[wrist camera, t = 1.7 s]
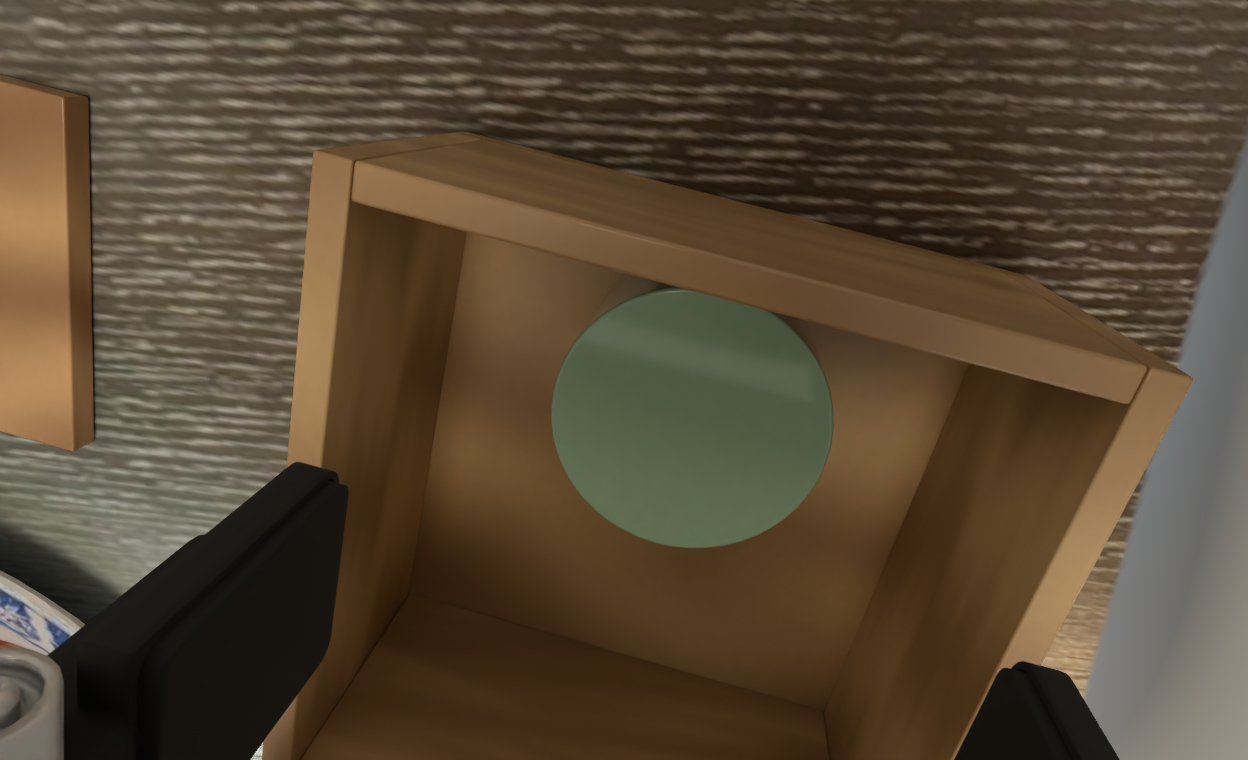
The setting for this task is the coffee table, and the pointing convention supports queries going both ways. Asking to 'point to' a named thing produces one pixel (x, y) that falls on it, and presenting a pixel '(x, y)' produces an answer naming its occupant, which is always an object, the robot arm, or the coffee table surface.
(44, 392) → the trivet
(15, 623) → the ceramic plate
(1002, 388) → the chest
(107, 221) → the coffee table surface
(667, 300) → the sage green cylinder
